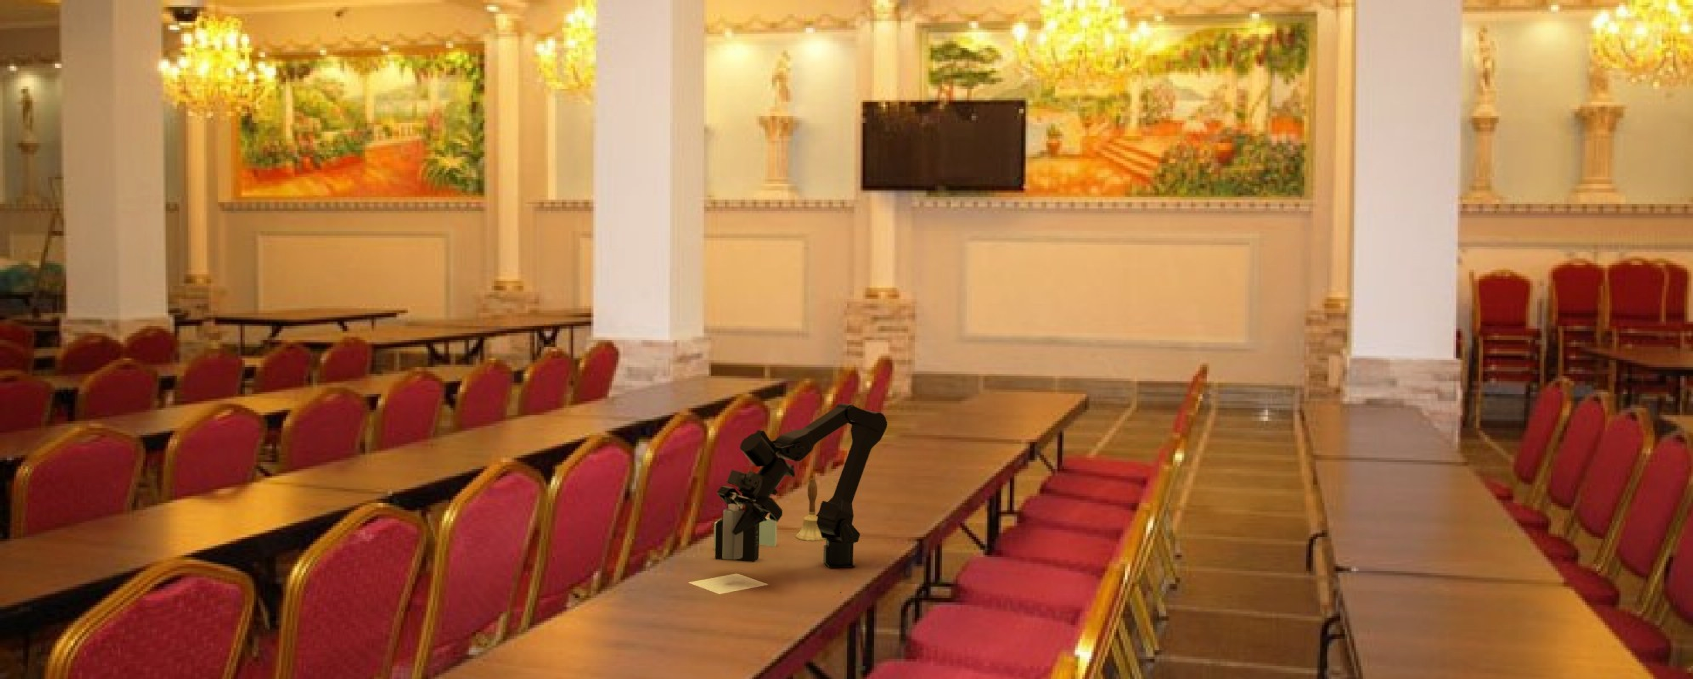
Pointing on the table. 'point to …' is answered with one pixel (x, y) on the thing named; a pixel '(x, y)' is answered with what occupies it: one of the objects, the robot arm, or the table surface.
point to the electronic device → (748, 543)
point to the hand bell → (810, 517)
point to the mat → (728, 583)
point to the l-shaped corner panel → (763, 533)
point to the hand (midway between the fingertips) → (728, 531)
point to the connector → (731, 541)
